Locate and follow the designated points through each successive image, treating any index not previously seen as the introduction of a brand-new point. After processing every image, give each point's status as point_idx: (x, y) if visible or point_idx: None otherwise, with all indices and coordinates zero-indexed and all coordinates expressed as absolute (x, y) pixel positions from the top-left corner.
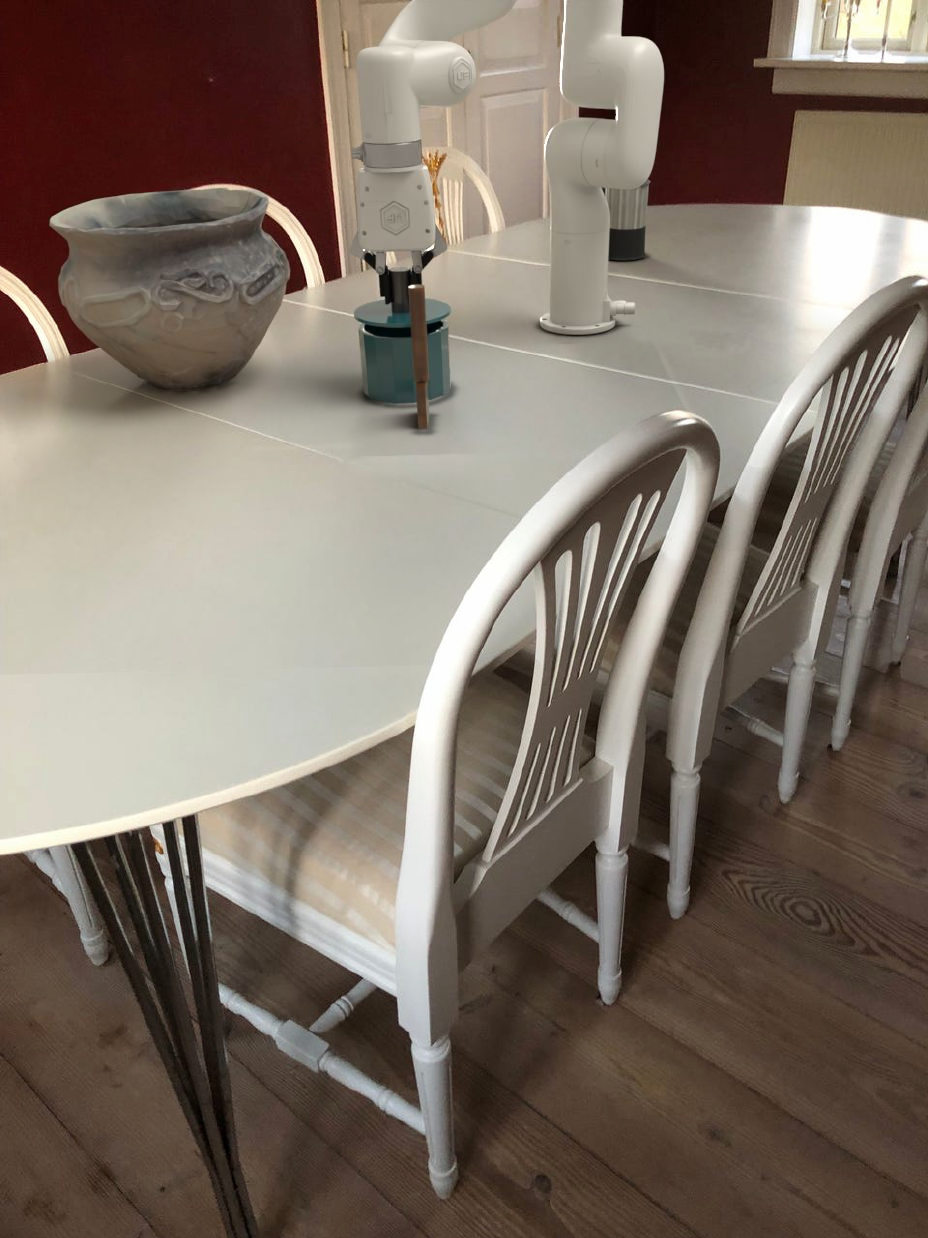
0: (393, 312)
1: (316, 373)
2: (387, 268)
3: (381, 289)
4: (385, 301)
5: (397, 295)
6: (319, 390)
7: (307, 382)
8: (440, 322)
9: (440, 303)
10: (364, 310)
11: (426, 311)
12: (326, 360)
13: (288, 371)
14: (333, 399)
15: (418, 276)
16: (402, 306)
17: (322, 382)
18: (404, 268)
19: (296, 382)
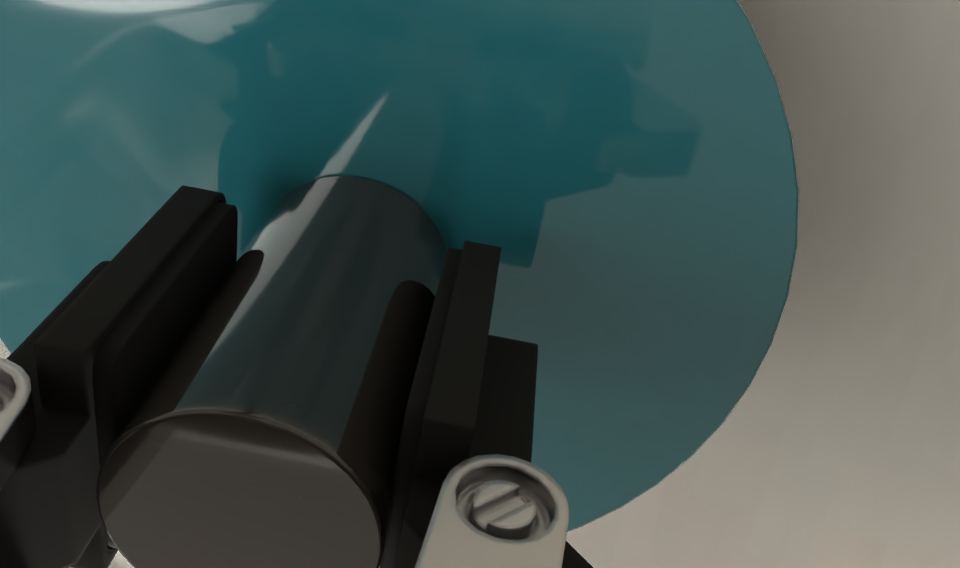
0: (437, 209)
1: (828, 420)
2: (396, 564)
3: (516, 370)
4: (496, 254)
5: (358, 259)
6: (881, 203)
7: (903, 325)
8: None
9: None
10: (677, 343)
11: (140, 152)
12: (744, 544)
13: (941, 475)
14: (851, 48)
15: (36, 369)
16: (340, 195)
17: (834, 305)
18: (178, 522)
19: (954, 339)
